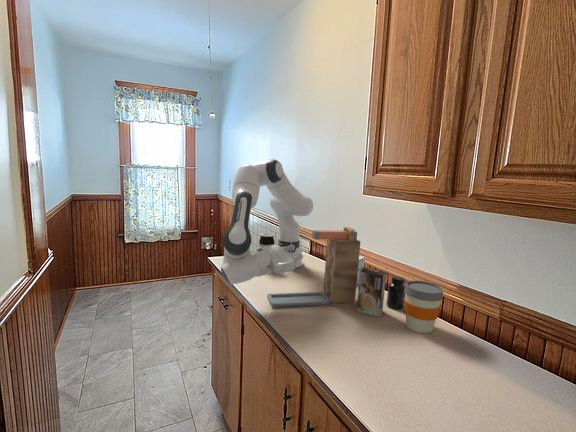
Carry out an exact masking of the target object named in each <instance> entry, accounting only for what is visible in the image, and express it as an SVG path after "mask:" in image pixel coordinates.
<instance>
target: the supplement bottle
mask: <svg viewBox="0 0 576 432" xmlns="http://www.w3.org/2000/svg"><path fill="white" fill-rule="evenodd" d="M405 286H406V284H405V278H404V277H402V276H398V275H397V276H396V275H393V276H392V277H391V282H390V283H389V284H388V286H387V287H388V288H387V294H386V295H387V297H386V306H387V307H388V308H389V309H393V310H402V309H403V310H404V298H405V292H404V290H405Z"/></svg>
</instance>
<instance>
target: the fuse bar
mask: <svg viewBox="0 0 576 432" xmlns="http://www.w3.org/2000/svg"><path fill="white" fill-rule="evenodd" d="M348 235H349V231H343V230H320V229H318V230H317V229H315V230H312V232H311V238H312V239H313V240H327V239H348ZM357 238H358V231H356V230H355V232H354V239H355V240H358V239H357Z"/></svg>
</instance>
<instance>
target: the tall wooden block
mask: <svg viewBox="0 0 576 432" xmlns="http://www.w3.org/2000/svg"><path fill="white" fill-rule="evenodd" d="M342 231H349V235H348V239H326V241H327V243H326V252H325V253H326V254H325V265H324V266H325V267H324V278H323V291H322V292H324V294H325V295H326V296H327V297H328V298H329V299H330V300H331V305H330V306H337V305H338V306H340V305H355V302H356V292H357V285H358V284H357V273H358V263H359V256H360V250H361V241H360V240H358V239H357V240H355V239H354V232H355V231H356V230H355V229H354V228H352V227H350V226H343V230H342ZM356 284H357V285H356Z"/></svg>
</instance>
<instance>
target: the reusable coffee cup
mask: <svg viewBox="0 0 576 432" xmlns="http://www.w3.org/2000/svg"><path fill="white" fill-rule="evenodd" d="M404 292H405V298H404V308H403V310H404V311H403V312H405V326H406V327H407V328H408V329H410V331H413V332H417V333H420V334H430V333H432V332H433V330H434V326H435V323H436V320H438V317H439V314H440V311H441V307H442V304H441V302H442V300H443V299H444V289H443V288H442V287H441V285H440V286H439V285H437V284H436V283H432V282H429V281H424V280H407V281H406V283H405V290H404Z"/></svg>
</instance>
